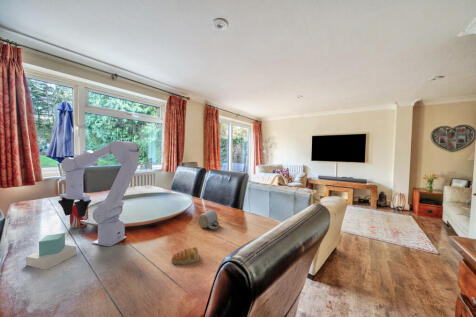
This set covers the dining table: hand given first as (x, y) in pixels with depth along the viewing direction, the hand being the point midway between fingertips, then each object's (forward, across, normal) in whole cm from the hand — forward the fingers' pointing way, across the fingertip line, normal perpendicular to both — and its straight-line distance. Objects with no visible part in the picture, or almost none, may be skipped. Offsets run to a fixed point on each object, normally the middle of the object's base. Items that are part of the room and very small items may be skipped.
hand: (75, 215), depth 79 cm
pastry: (+10, -56, +1) cm, 57 cm away
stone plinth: (+10, -10, +14) cm, 20 cm away
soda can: (+10, +12, -10) cm, 19 cm away
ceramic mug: (+10, -52, -28) cm, 60 cm away
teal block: (+7, -10, +14) cm, 18 cm away
